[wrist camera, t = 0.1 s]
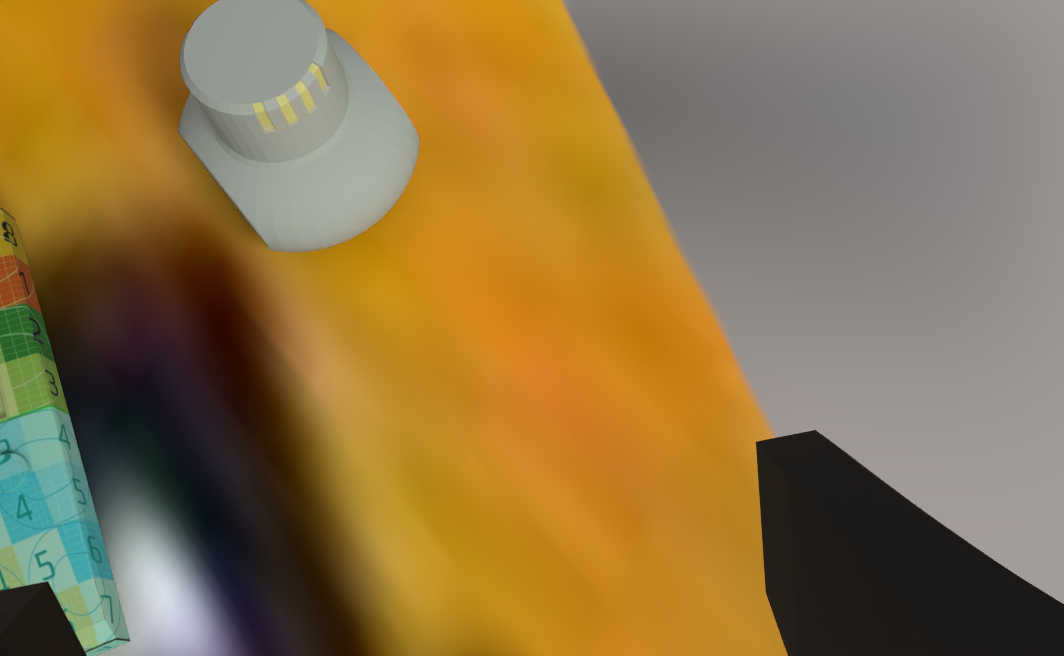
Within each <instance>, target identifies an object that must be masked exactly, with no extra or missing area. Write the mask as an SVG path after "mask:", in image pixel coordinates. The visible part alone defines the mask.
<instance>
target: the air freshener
mask: <svg viewBox="0 0 1064 656" xmlns="http://www.w3.org/2000/svg"><path fill="white" fill-rule="evenodd" d="M192 25H193V26H192V27H191V29H190V31H188V32H187V33H186V35H185V38H184V40H183V43H182V47H181V51H180V68H181V74H182V77H183V79H184V82H185V84H186V86H187V87H188V89H189V90H190V92H191V93H190V95H189V97H188V99H187V102H186V104H185V107H184V109H183V112H182V115H181V120H180V125H179V130H178V133H179V134H180V136H181V137H182V138H183V140H184V141H185V142H186V144H187V145H188V146H189V148H190V149H191V150H192V152H193V153H194V154H195V156H196V157H197V158H198V159H199V161H200V162H201V163H202V165H203V166H204V167H205V168H206V170H207V171H208V172H209V174H210V175H211V176H212V177H213V179H214V180H215V181H216V183H217V184H218V185H219V186H220V188H221V189H222V190H223V191H224V193H225V194H226V195H227V197H228V198H229V199H230V200H231V202H232V203H233V204H234V205H235V207H236V208H237V209H238V210H239V212H240V213H241V214H242V215H243V217H244V218H245V219H246V220H247V222H248V223H249V224H250V225H251V227H252V228H253V229H254V230H255V232H256V233H257V234H258V235H259V237H260V238H261V239H262V240H263V242H264V243H265V244H266V245H267V246H268V248H269V249H270V250H272V251H281V252H308V251H313V250H319V249H324V248H328V247H331V246H334V245H337V244H340V243H342V242H345V241H347V240H349V239H351V238H353V237H355V236H357V235H359V234H361V233H363V232H364V231H365V230H367V229H368V228H370V227H371V226H372V225H374V224H375V223H376V222H378V221H379V220H380V219H381V218H382V217H383V216H384V215H385V214H386V213H387V212H388V211H389V210H390V209H391V208H392V207H393V206H394V204H395V203H396V202H397V200H398V199H399V197H400V196H401V195H402V193H403V192H404V190H405V188H406V186H407V184H408V182H409V180H410V178H411V176H412V174H413V171H414V167H415V164H416V161H417V157H418V151H419V142H420V140H419V136H418V134H417V132H416V130H415V128H414V126H413V124H412V122H411V121H410V119H409V118H408V116H407V115H406V113H405V112H404V110H403V109H402V107H401V106H400V104H399V103H398V101H397V100H396V99H395V97H394V96H393V95H392V93H391V92H390V91H389V89H388V88H387V87H386V86H385V84H384V83H383V82H382V80H381V79H380V78H379V77H378V76H377V74H376V73H375V72H374V71H373V70H372V68H371V67H370V66H369V65H368V64H367V63H366V62H365V60H364V59H363V58H362V57H361V56H360V55H359V54H358V53H357V52H356V51H355V50H354V49H353V48H352V47H351V46H350V45H349V44H348V43H347V42H346V41H345V40H344V39H343V38H342V37H341V36H340V35H338V34H337V33H336V32H334V31H332V30H330V29H327V28H325V27H324V25H323V23H322V20H321V18H320V16H319V15H318V14H317V12H316V11H315V10H314V9H313V8H312V7H311V6H310V5H309V4H308V3H307V2H306V1H304V0H218V1H217V2H215V3H214V4H212V5H211V6H209V8H208V9H206V10H205V11H204V12H203V13H202V14H200V15H199V16H198V17H197V19H196V20H195V21H194V22H193V23H192Z"/></svg>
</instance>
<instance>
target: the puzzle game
mask: <svg viewBox="0 0 1064 656" xmlns="http://www.w3.org/2000/svg"><path fill="white" fill-rule="evenodd" d="M46 581H48V582H49V584H50V586H51V588H52V590H53V592H54V594H55V596H56V597H57V599H58V601H59V603H60V605H61V607H62V609H63V611H64V613H65V615H66V616H67V618H68V620H69V622H70V624H71V626H72V628H73V630H74V632H75V634H76V636H77V637H78V639H79V641H80V643H81V645H82V647H83V649H84V651H85V653H86V655H87V656H97V655H99V654H102V653H104V652H106V651H109V650H111V649H113V648H116V647H118V646H120V645H122V644H125V643H127V642H129V641H130V638H129V634H128V631H127V627H126V623H125V619H124V616H123V612H122V608H121V605H120V601H119V597H118V594H117V590H116V586H115V583H114V579H113V575H112V571H111V568H110V564H109V560H108V557H107V553H106V549H105V546H104V542H103V538H102V534H101V531H100V527H99V523H98V520H97V516H96V512H95V509H94V505H93V501H92V497H91V494H90V490H89V486H88V483H87V479H86V475H85V472H84V468H83V464H82V461H81V457H80V453H79V449H78V446H77V442H76V438H75V435H74V431H73V427H72V424H71V420H70V416H69V412H68V409H67V405H66V401H65V398H64V394H63V390H62V387H61V383H60V379H59V375H58V372H57V368H56V364H55V361H54V357H53V353H52V350H51V346H50V342H49V339H48V335H47V331H46V327H45V324H44V320H43V316H42V313H41V309H40V305H39V302H38V298H37V294H36V290H35V287H34V283H33V279H32V276H31V272H30V268H29V265H28V261H27V257H26V253H25V250H24V246H23V242H22V239H21V235H20V231H19V229H18V226H17V224H16V221H15V219H14V218H13V217H12V216H11V215H10V214H8V213H7V212H6V211H5V210H3V209H2V208H1V209H0V591H1V590H6V589H11V588H16V587H21V586H26V585H31V584H36V583H41V582H46Z"/></svg>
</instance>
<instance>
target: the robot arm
mask: <svg viewBox="0 0 1064 656" xmlns="http://www.w3.org/2000/svg"><path fill="white" fill-rule="evenodd" d="M756 449H757V464H758V479H759V494H760V510H761V525H762V540H763V555H764V570H765V585H766V594H767V597H768V600H769V603H770V606H771V608H772V611H773V614H774V617H775V620H776V623H777V626H778V628H779V631H780V634H781V637H782V640H783V643H784V645H785V648H786V651H787V653H788V656H1064V604H1062V603H1061V602H1059V601H1057V600H1055V599H1054V598H1053V597H1051V596H1049V595H1048V594H1046V593H1044V592H1043V591H1041V590H1039V589H1038V588H1036V587H1035V586H1033V585H1032V584H1030V583H1028V582H1027V581H1025V580H1023V579H1022V578H1020V577H1019V576H1017V575H1016V574H1014V573H1013V572H1011V571H1010V570H1008V569H1006V568H1005V567H1004V566H1002V565H1001V564H999V563H997V562H996V561H994V560H993V559H992V558H990V557H989V556H987V555H986V554H984V553H983V552H981V551H980V550H979V549H977V548H976V547H974V546H973V545H971V544H970V543H968V542H967V541H965V540H964V539H963V538H961V537H960V536H958V535H957V534H955V533H954V532H953V531H951V530H950V529H948V528H946V527H945V526H944V525H942V524H941V523H940V522H938V521H937V520H935V519H934V518H933V517H931V516H930V515H928V514H927V513H926V512H924V511H923V510H922V509H920V508H919V507H917V506H916V505H915V504H913V503H912V502H911V501H909V500H908V499H906V498H905V497H904V496H902V495H901V494H900V493H899V492H897V491H896V490H894V489H893V488H892V487H890V486H889V485H888V484H886V483H885V482H884V481H882V480H881V479H880V478H878V477H877V476H876V475H874V474H873V473H872V472H870V471H869V470H868V469H867V468H865V467H864V466H863V465H861V464H860V463H859V462H857V461H856V460H855V459H853V458H852V457H851V456H850V455H848V454H847V453H846V452H844V451H843V450H842V449H840V448H839V447H838V446H836V445H835V444H834V443H832V442H831V441H830V440H828V439H827V438H826V437H824V436H823V435H821V434H820V433H819V432H817V431H816V430H814V431H809V432H804V433H798V434H793V435H788V436H783V437H778V438H773V439H768V440H763V441H758V442H756ZM0 656H87V655H86V653H85V651H84V649H83V647H82V645H81V643H80V641H79V639H78V637H77V636H76V634H75V632H74V630H73V628H72V626H71V624H70V622H69V620H68V618H67V616H66V615H65V613H64V611H63V609H62V607H61V605H60V603H59V601H58V599H57V597H56V596H55V594H54V592H53V590H52V588H51V586H50V584H49V582H48V581H46V582H41V583H36V584H31V585H26V586H21V587H16V588H11V589H6V590H1V591H0Z"/></svg>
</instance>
